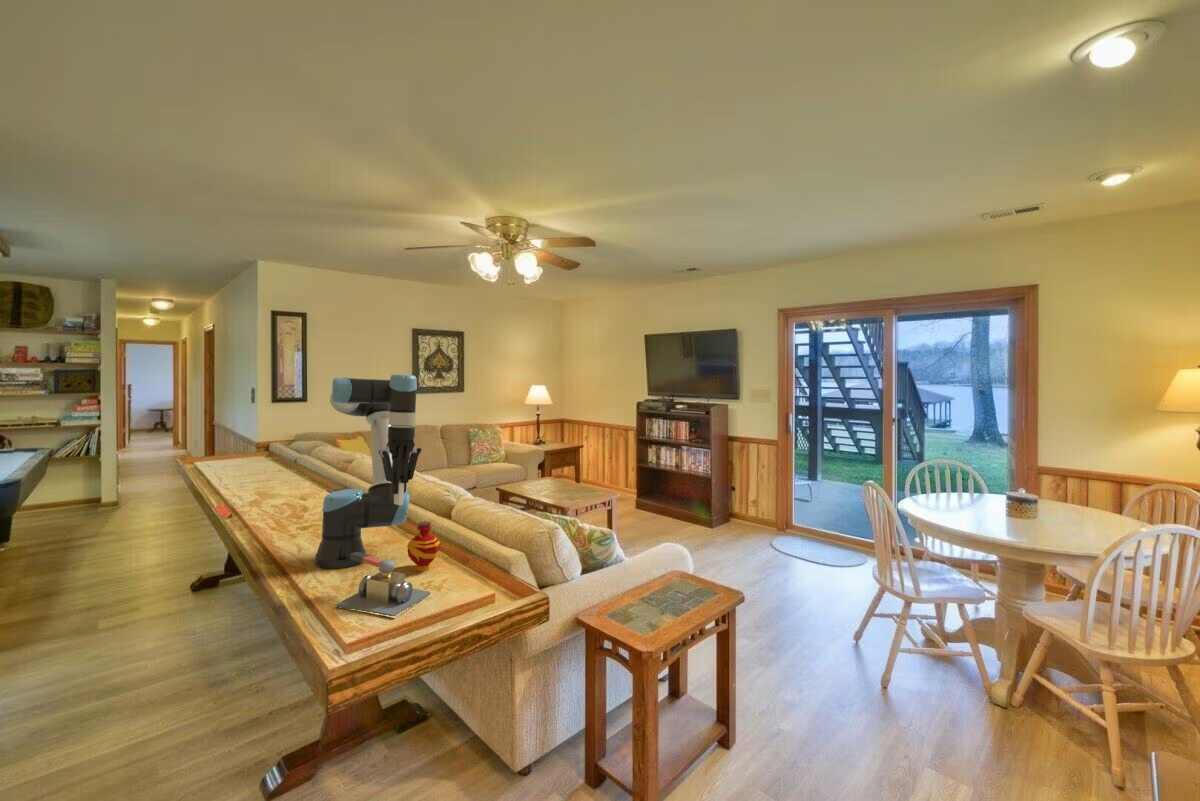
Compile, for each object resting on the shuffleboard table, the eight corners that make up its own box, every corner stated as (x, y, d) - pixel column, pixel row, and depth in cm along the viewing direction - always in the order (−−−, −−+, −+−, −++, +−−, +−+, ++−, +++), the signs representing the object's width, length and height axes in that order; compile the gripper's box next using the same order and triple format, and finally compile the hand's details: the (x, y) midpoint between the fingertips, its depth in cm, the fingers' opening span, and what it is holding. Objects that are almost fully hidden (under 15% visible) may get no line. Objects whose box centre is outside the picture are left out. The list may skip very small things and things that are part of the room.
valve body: (355, 601, 141) (356, 571, 141) (372, 591, 148) (373, 562, 148) (398, 609, 138) (400, 579, 137) (414, 599, 144) (416, 570, 144)
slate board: (336, 607, 137) (337, 603, 137) (377, 585, 153) (377, 582, 153) (394, 619, 133) (394, 615, 133) (430, 595, 148) (430, 591, 148)
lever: (397, 568, 143) (397, 561, 143) (385, 573, 140) (385, 565, 140) (359, 556, 151) (360, 550, 151) (347, 560, 147) (347, 553, 147)
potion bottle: (405, 563, 171) (407, 519, 170) (437, 561, 175) (439, 517, 175) (406, 575, 161) (408, 528, 161) (440, 572, 166) (442, 526, 165)
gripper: (413, 424, 160) (410, 498, 161) (374, 425, 150) (371, 505, 151) (428, 426, 156) (424, 503, 157) (388, 428, 145) (384, 510, 146)
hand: (398, 503), depth 154 cm, fingers closed
